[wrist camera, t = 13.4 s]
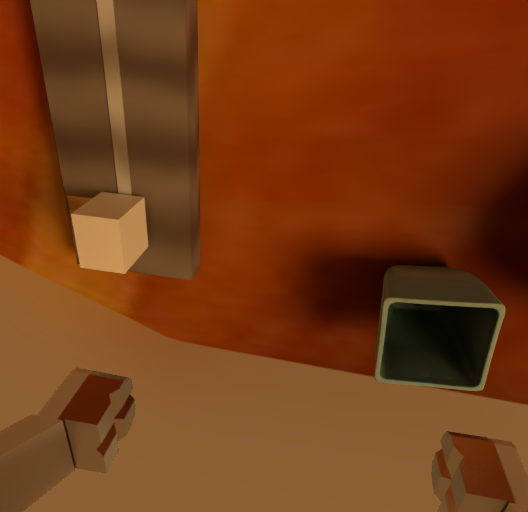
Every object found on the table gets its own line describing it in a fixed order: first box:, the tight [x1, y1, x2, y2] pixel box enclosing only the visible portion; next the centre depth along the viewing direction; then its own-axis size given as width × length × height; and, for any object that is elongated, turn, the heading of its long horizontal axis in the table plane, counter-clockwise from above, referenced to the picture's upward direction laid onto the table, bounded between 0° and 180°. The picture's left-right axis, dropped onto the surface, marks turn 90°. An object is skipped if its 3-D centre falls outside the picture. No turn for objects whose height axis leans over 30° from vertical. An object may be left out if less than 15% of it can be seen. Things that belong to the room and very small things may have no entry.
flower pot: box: [375, 265, 505, 391], centre depth 38 cm, size 9×9×9 cm
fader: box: [71, 192, 148, 274], centre depth 37 cm, size 5×4×5 cm
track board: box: [30, 0, 200, 280], centre depth 37 cm, size 26×12×3 cm, turn 176°
